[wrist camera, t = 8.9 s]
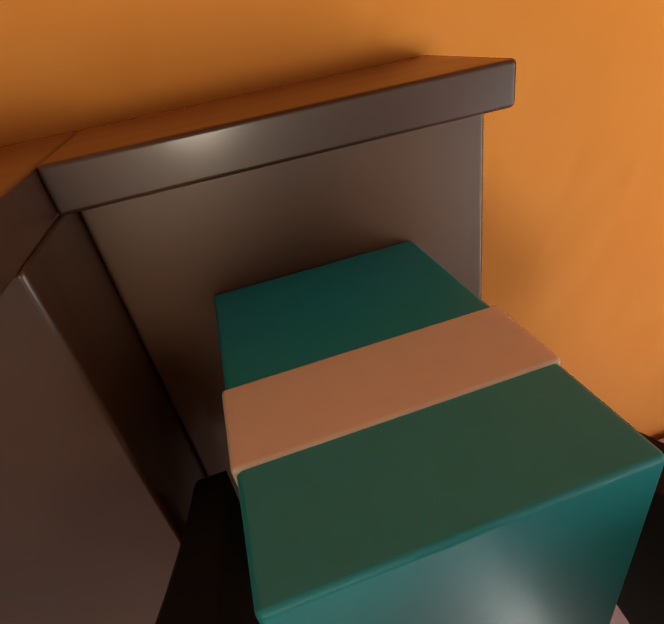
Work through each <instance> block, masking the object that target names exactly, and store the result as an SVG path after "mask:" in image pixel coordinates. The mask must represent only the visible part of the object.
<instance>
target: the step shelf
mask: <svg viewBox="0 0 664 624" xmlns="http://www.w3.org/2000/svg"><path fill="white" fill-rule="evenodd" d="M515 76H516V61H515V60H514V59H512V58H488V57H460V56H433V55H425V56H420V57H415V58H411V59H406V60H402V61H397V62H392V63H388V64H383V65H378V66H374V67H369V68H365V69H360V70H355V71H351V72H346V73H342V74H337V75H332V76H328V77H323V78H319V79H314V80H309V81H305V82H300V83H296V84H291V85H286V86H282V87H277V88H272V89H268V90H263V91H259V92H254V93H249V94H245V95H240V96H236V97H231V98H226V99H222V100H217V101H213V102H208V103H203V104H199V105H194V106H190V107H185V108H180V109H176V110H171V111H166V112H162V113H157V114H153V115H148V116H143V117H139V118H134V119H130V120H125V121H120V122H116V123H111V124H107V125H102V126H97V127H93V128H88V129H84V130H80V131H79V132H78V133H77V132H69V133H65V134H60V135H55V136H51V137H46V138H41V139H37V140H32V141H28V142H23V143H18V144H14V145H9V146H5V147H0V624H155V622H156V619H157V617H158V614H159V611H160V608H161V605H162V602H163V600H164V597H165V594H166V590H167V587H168V584H169V581H170V577H171V574H172V571H173V568H174V564H175V561H176V558H177V554H178V551H179V548H180V544H181V540H182V537H183V533H184V529H185V525H186V521H187V517H188V513H189V509H190V504H191V500H192V495H193V490H194V485H195V484H196V482H197V481H198V480H200V479H202V478H205V477H208V476H211V475H214V474H217V473H220V472H223V471H227V474H228V476H229V478H230V480H231V483H232V485H233V487H234V489H235V492H236V494H237V496H238V498H239V501H240V497H239V490H238V487H237V484H236V482H235V480H234V477H233V475H232V473H231V468H230V459H229V451H228V442H227V434H226V425H225V417H224V409H223V400H222V393H223V391H225V383H224V375H223V367H222V360H221V352H220V344H219V337H218V329H217V321H216V314H215V306H214V297H215V296H216V295H220V294H223V293H227V292H230V291H234V290H237V289H241V288H245V287H248V286H252V285H255V284H259V283H262V282H266V281H269V280H273V279H276V278H280V277H284V276H287V275H291V274H294V273H298V272H301V271H305V270H308V269H312V268H315V267H319V266H323V265H326V264H330V263H333V262H337V261H340V260H344V259H347V258H351V257H355V256H358V255H362V254H365V253H369V252H372V251H376V250H379V249H383V248H386V247H390V246H394V245H397V244H401V243H404V242H408V241H412V242H413V243H415V244H416V245H417V246H418V247H419V248H421V249H422V250H423V251H424V252H425V253H427V254H428V255H429V256H430V257H431V258H432V259H434V260H435V261H436V262H437V263H438V264H440V265H441V266H442V267H443V268H444V269H446V270H447V271H448V272H449V273H450V274H451V275H453V276H454V277H455V278H456V279H457V280H459V281H460V282H461V283H462V284H463V285H465V286H466V287H467V288H468V289H469V290H471V291H472V292H473V293H474V294H475V295H476V296H478V297H479V298H480V299H481V272H482V190H483V114H485V113H489V112H493V111H497V110H501V109H505V108H509V107H511V106H513V104H514V98H515Z"/></svg>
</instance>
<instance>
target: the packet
mask: <svg viewBox="0 0 664 624" xmlns="http://www.w3.org/2000/svg"><path fill="white" fill-rule="evenodd" d="M214 306H215V314H216V321H217V329H218V337H219V344H220V352H221V360H222V367H223V375H224V383H225V391H223V393H222V400H223V409H224V417H225V425H226V434H227V442H228V451H229V459H230V468H231V473H232V475H233V477H234V480H235V482H236V484H237V487H238V490H239V497H240V505H241V512H242V520H243V528H244V535H245V543H246V551H247V558H248V566H249V574H250V581H251V589H252V597H253V604H254V612H255V616H256V618H257V620H258V621H259V623H260V624H610V621H611V619H612V616H613V613H614V610H615V607H616V604H617V601H618V598H619V595H620V592H621V589H622V586H623V583H624V580H625V578H626V575H627V572H628V569H629V566H630V563H631V560H632V557H633V554H634V551H635V548H636V545H637V542H638V539H639V537H640V534H641V531H642V528H643V525H644V522H645V519H646V516H647V513H648V510H649V507H650V504H651V501H652V498H653V495H654V493H655V490H656V487H657V484H658V481H659V478H660V475H661V472H662V469H663V466H664V454H663V452H662V451H661V450H659V449H658V448H657V447H656V446H655V445H653V444H652V443H651V442H650V441H649V440H648V439H646V438H645V437H644V436H643V435H642V434H640V433H639V432H638V431H637V430H636V429H634V428H633V427H632V426H631V425H630V424H629V423H627V422H626V421H625V420H624V419H623V418H621V417H620V416H619V415H618V414H617V413H615V412H614V411H613V410H612V409H611V408H610V407H608V406H607V405H606V404H605V403H604V402H602V401H601V400H600V399H599V398H598V397H596V396H595V395H594V394H593V393H592V392H591V391H589V390H588V389H587V388H586V387H585V386H583V385H582V384H581V383H580V382H579V381H577V380H576V379H575V378H574V377H573V376H571V375H570V374H569V373H568V372H567V371H566V370H564V369H563V368H562V367H561V366H560V363H561V362H560V359H559V357H558V356H557V355H555V354H554V353H553V352H552V351H550V350H549V349H548V348H547V347H546V346H544V345H543V344H542V343H541V342H540V341H538V340H537V339H536V338H535V337H533V336H532V335H531V334H530V333H529V332H527V331H526V330H525V329H524V328H522V327H521V326H520V325H519V324H518V323H516V322H515V321H514V320H513V319H512V318H510V317H509V316H508V315H507V314H505V313H504V312H503V311H502V310H501V309H499V308H498V307H496V306H492V307H490V306H488V305H487V304H486V303H485V302H484V301H482V300H481V299H480V298H479V297H478V296H476V295H475V294H474V293H473V292H472V291H471V290H469V289H468V288H467V287H466V286H465V285H463V284H462V283H461V282H460V281H459V280H457V279H456V278H455V277H454V276H453V275H451V274H450V273H449V272H448V271H447V270H446V269H444V268H443V267H442V266H441V265H440V264H438V263H437V262H436V261H435V260H434V259H432V258H431V257H430V256H429V255H428V254H427V253H425V252H424V251H423V250H422V249H421V248H419V247H418V246H417V245H416V244H415V243H413V242H412V241H408V242H404V243H401V244H397V245H394V246H390V247H386V248H383V249H379V250H376V251H372V252H369V253H365V254H362V255H358V256H355V257H351V258H347V259H344V260H340V261H337V262H333V263H330V264H326V265H323V266H319V267H315V268H312V269H308V270H305V271H301V272H298V273H294V274H291V275H287V276H284V277H280V278H276V279H273V280H269V281H266V282H262V283H259V284H255V285H252V286H248V287H245V288H241V289H237V290H234V291H230V292H227V293H223V294H220V295H216V296H215V297H214Z"/></svg>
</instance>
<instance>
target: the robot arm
mask: <svg viewBox="0 0 664 624" xmlns="http://www.w3.org/2000/svg"><path fill="white" fill-rule="evenodd" d="M639 433H640V432H639ZM640 434H642V435H643V436H644V437H645V438H646V439H648V440H649V441H650V442H651V443H652V444H653V445H655V446H656V447H657V448H658V449H659V450H661V451H662V452H663V454H664V438H662V439H659V440H656V439H654V438H651V437H649V436H647V435H645V434H643V433H640ZM155 624H260V623H259V621H258V620H257V618H256V616H255V612H254V604H253V597H252V589H251V581H250V574H249V566H248V558H247V551H246V543H245V535H244V528H243V520H242V512H241V505H240V501H239V498H238V496H237V494H236V492H235V489H234V487H233V485H232V483H231V480H230V478H229V476H228V474H227V471H223V472H220V473H217V474H214V475H211V476H208V477H205V478H202V479H200V480H198V481H197V482H196V484H195V485H194V490H193V495H192V500H191V504H190V509H189V513H188V517H187V521H186V525H185V529H184V533H183V537H182V540H181V544H180V548H179V551H178V554H177V558H176V561H175V564H174V568H173V571H172V574H171V577H170V581H169V584H168V587H167V590H166V594H165V597H164V600H163V602H162V605H161V608H160V611H159V614H158V617H157V619H156V622H155ZM610 624H664V466H663V469H662V472H661V475H660V478H659V481H658V484H657V487H656V490H655V493H654V495H653V498H652V501H651V504H650V507H649V510H648V513H647V516H646V519H645V522H644V525H643V528H642V531H641V534H640V537H639V539H638V542H637V545H636V548H635V551H634V554H633V557H632V560H631V563H630V566H629V569H628V572H627V575H626V578H625V580H624V583H623V586H622V589H621V592H620V595H619V598H618V601H617V604H616V607H615V610H614V613H613V616H612V619H611V621H610Z"/></svg>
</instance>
